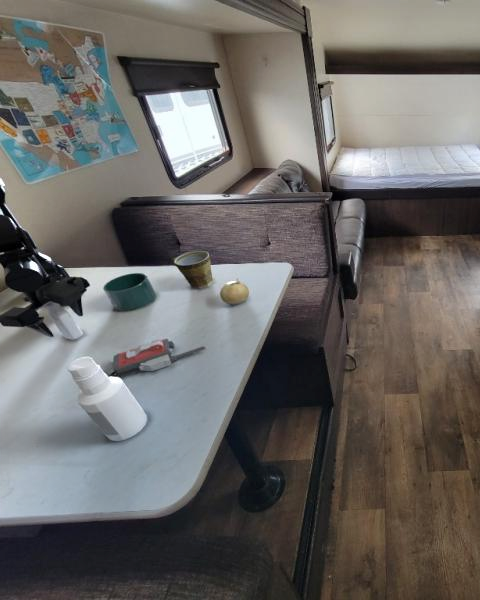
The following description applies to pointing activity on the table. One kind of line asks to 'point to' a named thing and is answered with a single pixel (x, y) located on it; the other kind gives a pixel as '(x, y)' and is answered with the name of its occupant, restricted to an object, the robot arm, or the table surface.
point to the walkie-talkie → (147, 358)
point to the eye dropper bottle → (63, 321)
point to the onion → (234, 292)
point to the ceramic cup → (195, 268)
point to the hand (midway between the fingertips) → (66, 326)
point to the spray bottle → (107, 400)
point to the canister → (130, 292)
